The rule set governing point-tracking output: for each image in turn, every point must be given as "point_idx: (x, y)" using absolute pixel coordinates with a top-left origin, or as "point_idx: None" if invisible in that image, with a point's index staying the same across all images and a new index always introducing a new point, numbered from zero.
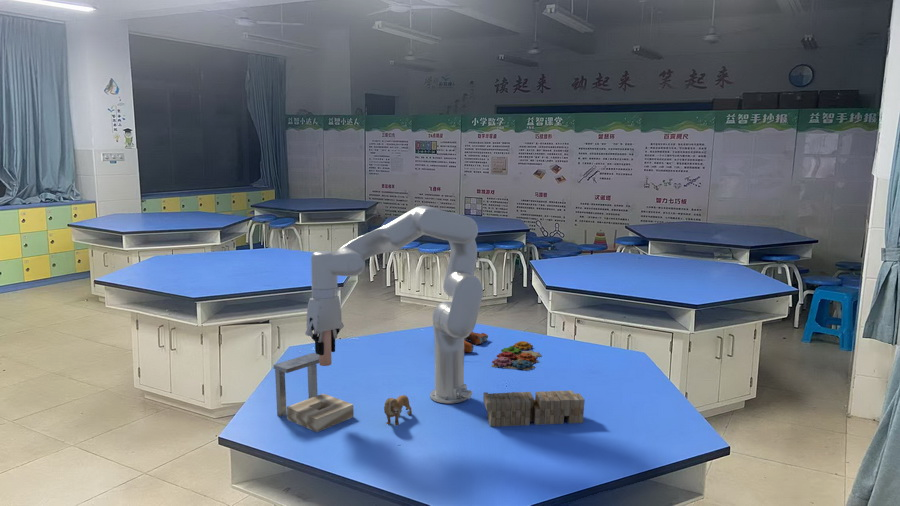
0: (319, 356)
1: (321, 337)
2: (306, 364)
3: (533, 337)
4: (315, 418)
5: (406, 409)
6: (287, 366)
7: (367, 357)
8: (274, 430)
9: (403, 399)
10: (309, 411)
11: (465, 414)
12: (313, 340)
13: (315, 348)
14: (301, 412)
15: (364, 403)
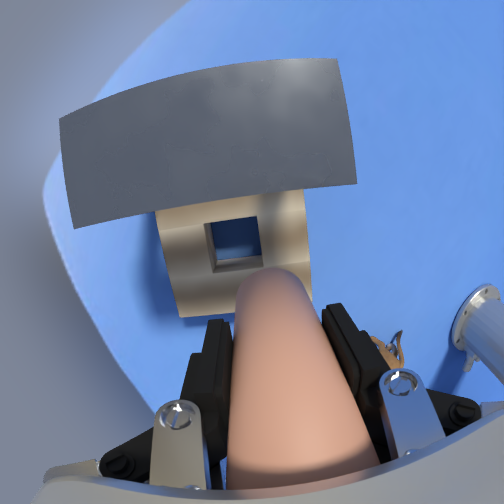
0: (234, 320)
1: (214, 487)
2: (196, 202)
3: None
4: (179, 313)
5: (396, 338)
6: (90, 188)
7: (491, 34)
8: (115, 224)
9: None
10: (186, 263)
11: (428, 384)
12: (163, 405)
13: (188, 369)
14: (165, 253)
15: (378, 231)
